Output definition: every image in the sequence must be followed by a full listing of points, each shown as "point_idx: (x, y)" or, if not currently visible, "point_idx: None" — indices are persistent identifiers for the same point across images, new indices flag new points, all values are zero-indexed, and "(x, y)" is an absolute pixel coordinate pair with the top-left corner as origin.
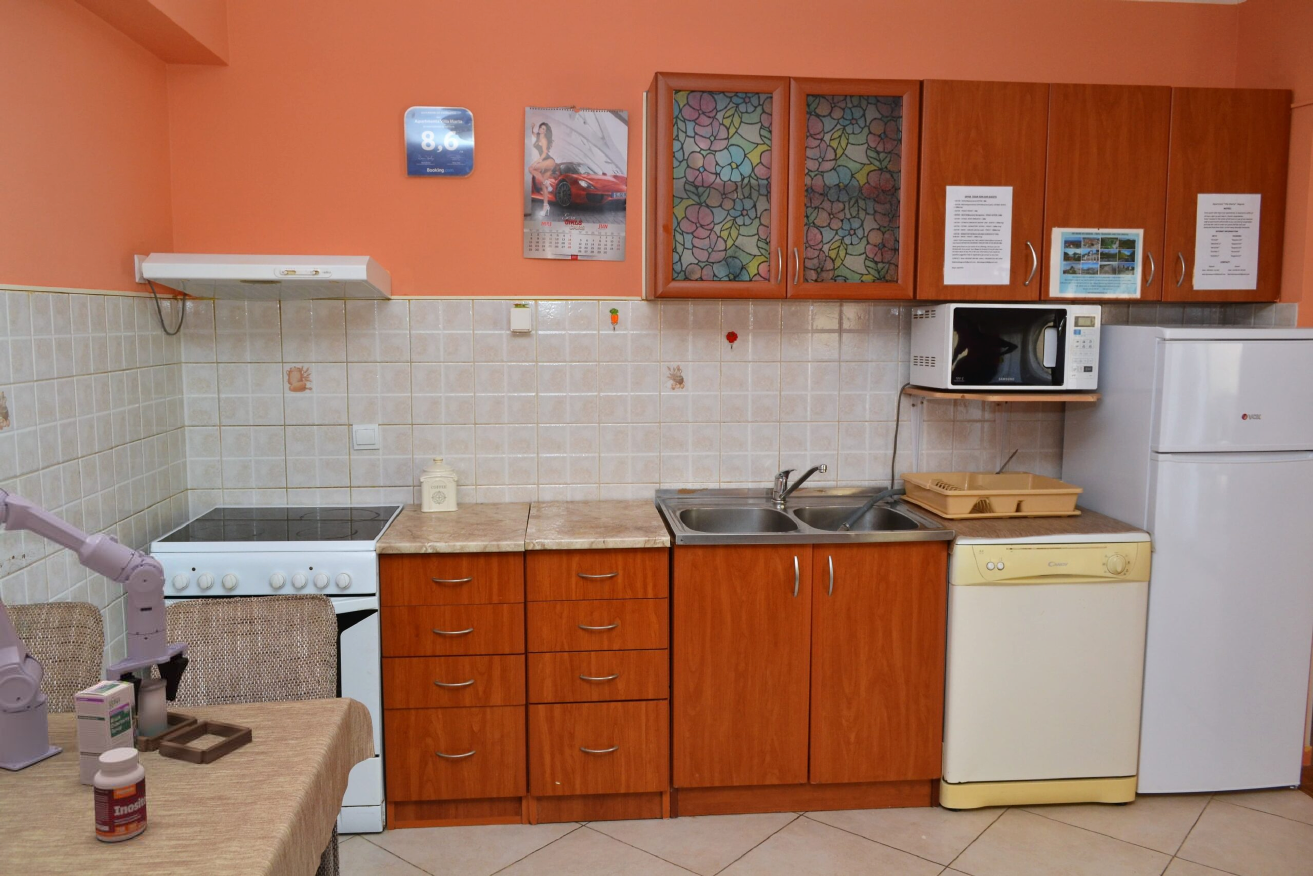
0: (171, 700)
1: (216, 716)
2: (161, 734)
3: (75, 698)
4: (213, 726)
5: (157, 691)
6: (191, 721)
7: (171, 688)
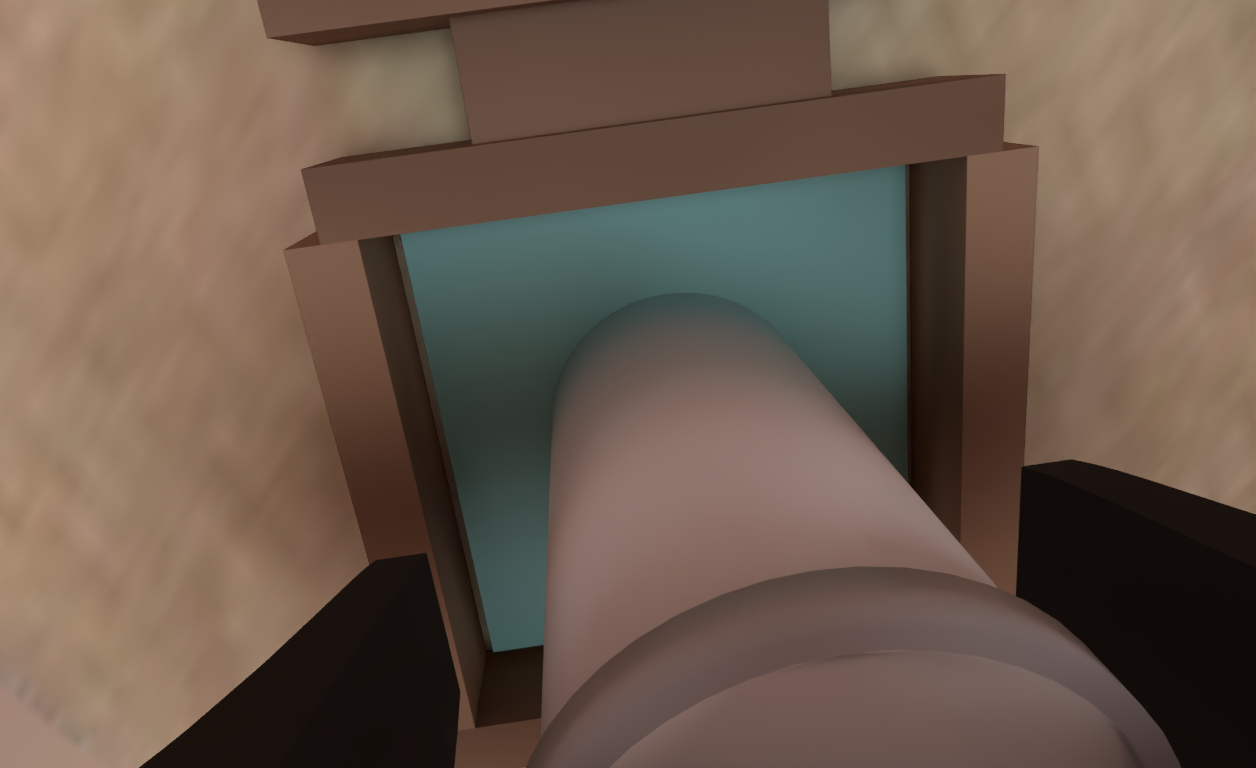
0: (429, 572)
1: (7, 322)
2: (844, 110)
3: None
4: None
5: (871, 561)
6: (395, 159)
7: (378, 704)
